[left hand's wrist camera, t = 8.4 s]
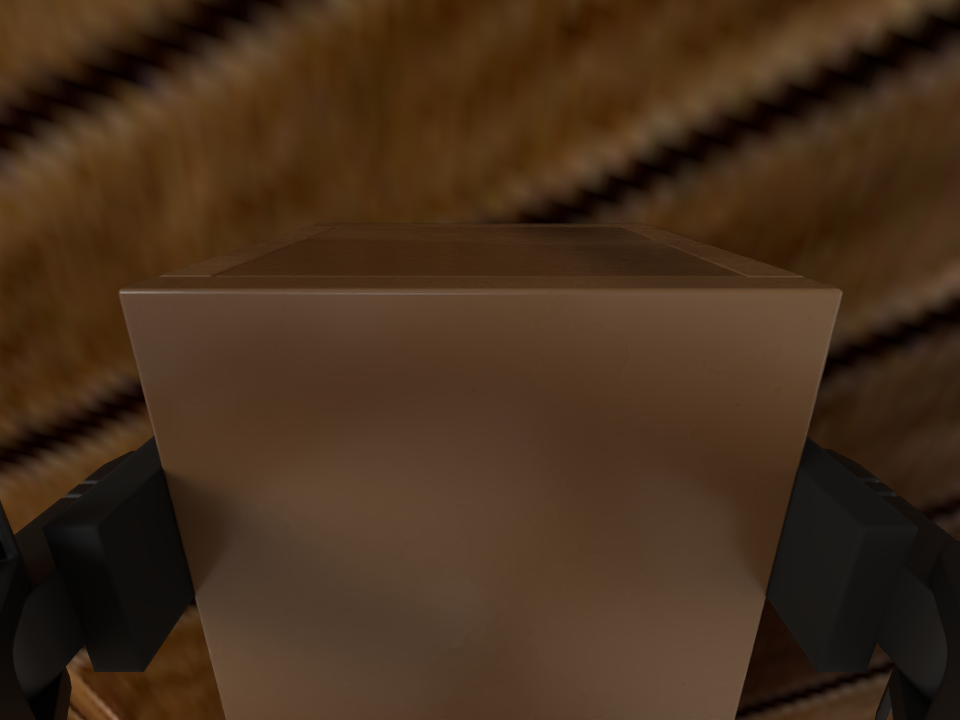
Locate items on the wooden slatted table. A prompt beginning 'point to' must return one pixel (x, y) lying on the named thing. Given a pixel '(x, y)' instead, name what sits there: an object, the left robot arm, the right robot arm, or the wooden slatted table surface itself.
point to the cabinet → (480, 465)
